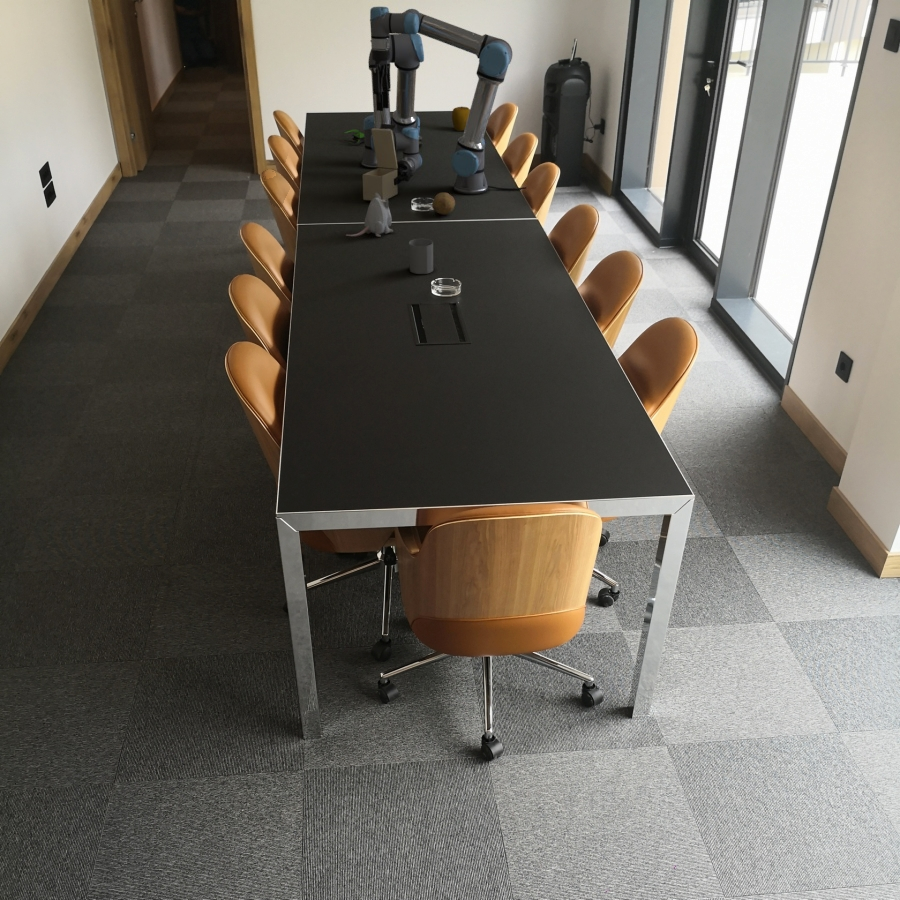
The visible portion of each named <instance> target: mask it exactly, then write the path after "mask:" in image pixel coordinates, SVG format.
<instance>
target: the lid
mask: <svg viewBox="0 0 900 900" xmlns="http://www.w3.org/2000/svg"><path fill="white" fill-rule="evenodd" d="M382 128H384V129H382ZM388 129H392V130H388ZM395 129H397V125H393V124H381V127H380V128H379V129H376V128H372V129H371V130H372V136H373V142H374V147H375V153H376V159H377V165H378V167H383V168H388V169H391V168H394V169H397V168H398V165H397V162H398V160H397V159H398V158H397V151H396V150H395V146H394V140H393V133H392V132H393V131H394V130H395ZM395 151H396V152H395Z"/></svg>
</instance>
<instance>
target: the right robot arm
mask: <svg viewBox="0 0 900 900" xmlns="http://www.w3.org/2000/svg"><path fill="white" fill-rule="evenodd" d="M369 10H370V11H369V23H370V43H371V44H370V47H371V49H373V50H372V60H375V68H372V73H373V92H372V94H373V93H374V94H376V105H377V111H383V108H389V101H388V91H389V92H391V90H392V89H391V85H392V84H391V63H390V64H387V60H389V59H390V50H389V48H390V39H389V34H408V35H410V34H419V35H422V36H425V37H428V38H431V39H433V40H435V41H438V42H441V43H443V44H446V45H448V46H452V47H454V48H457V49H459V50H461V51H462V50H463V51H465V52H468V53H470V54H473V55H475V56H476V58H477V59H478V65H477V69H476V73H475V74H476V76H477V78H478V80H477V83H476V86H475V89H474V95H473V97H472V101H471V105H470V108H469V109H470V112H469V116H468V119H467V123H466V127H465V130H464V131H463V134H462V136H460V137H459V138H458V139H457V141H456V142H457V143H456V146H455V149H454V153H453V154H452V156H451V159H450V160H451V162H450V164H451V168H452V170H453V172H454V173H455V174H456V178H455V181H454V183H453V191H454V192H456V193H458V194H462V195H480V194H485V193H487V192H488V189H495V190H500V191H501V190H502V191H521V190H527V186H522V187H513V188H512V187H510V188H509V187H498V186H493V185H488V181H487V178H486V174H485V149H486V148H485V147H486V143H485V142H486V141H485V139H484V137H485V135H486V130H487V127H488V124H489V120H490V117H491V113H492V110H493V107H494V103H495V99H496V96H497V92H498V89H499V86H500V85H501V84H503V83H504V82H505V78H506V75H507V72H508V68H509V65H510V64H511V62H512V60H513V48H512V47H511V45H510V43H509V42H508V41H506V40H505V39H503V38H499V37H495V36H493V35H490V34H487V33H485V34H483V35H481V34H479V33H476V32H474V31H471V30H468V29H465V28H462V27H460V26H457V25H455V24H451V23H449V22H446V21H443V20H441V19H438V18H435V17H433V16H430V15H427V14H424V13H422V12H420V11H418V9H415V8H407V9H406V10H404V11H403V12H390V10H389V7H387V6H373V7H371V8H370V9H369ZM382 89H383V91H382Z"/></svg>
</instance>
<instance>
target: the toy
mask: <svg viewBox="0 0 900 900" xmlns="http://www.w3.org/2000/svg"><path fill="white" fill-rule="evenodd" d="M389 205H390V204H389V199H388V197H387V198H386V200H381V198H380V196H379V195H378V194H377V193H375V198H374V199H372V200H370V202H369V205H368V207H367V211H366V215H365V217H364V223H363V225H364V229H362V230H361V231H359V232H358V233H354V234H346V236H348V237H359V236H362V235H363V234H365V233H366V234H371V233H372V234H374V235H375V237H378V238H382V236H381V235H382V234H383V233H384V234H385V235H387V234H389V233H394V230H393V228H390V227H391V226H392V220H393V219H392V218H393V217H392V214H391V211H390V206H389Z"/></svg>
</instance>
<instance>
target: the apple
mask: <svg viewBox="0 0 900 900" xmlns="http://www.w3.org/2000/svg"><path fill="white" fill-rule="evenodd" d="M470 109H471V108H469V107H467V106H462V105H461V106H457V107H454V108H452V111H451V121H452V125H453V128H454V129H455V131H457V132H464V130H465V127H466V123H467V119H468V116H469V112H470Z"/></svg>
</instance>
